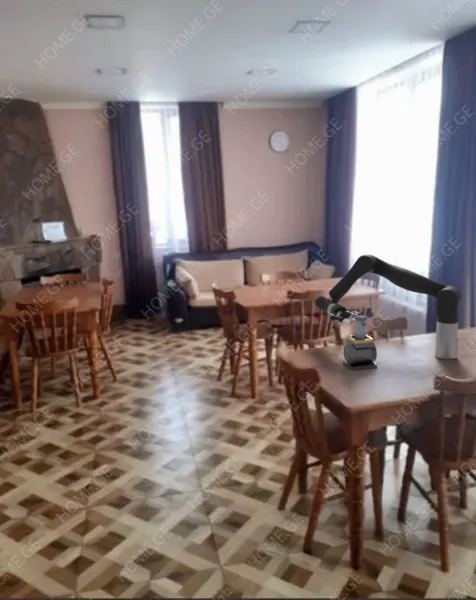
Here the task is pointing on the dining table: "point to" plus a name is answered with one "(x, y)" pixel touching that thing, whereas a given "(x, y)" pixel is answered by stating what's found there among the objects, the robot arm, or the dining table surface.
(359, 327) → the pump
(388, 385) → the dining table surface
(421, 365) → the dining table surface
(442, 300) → the robot arm
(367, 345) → the motor
